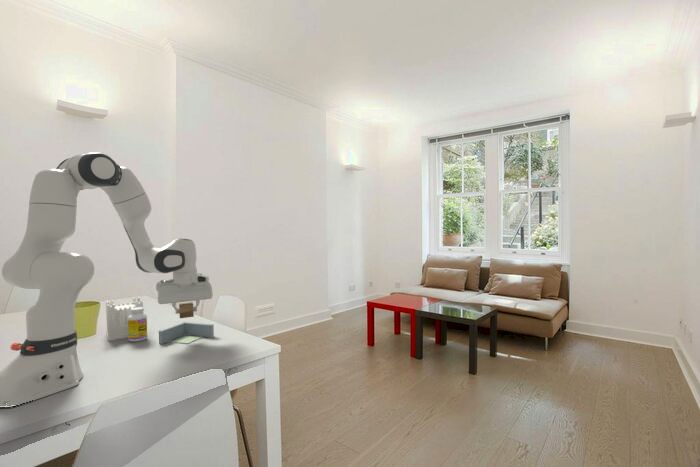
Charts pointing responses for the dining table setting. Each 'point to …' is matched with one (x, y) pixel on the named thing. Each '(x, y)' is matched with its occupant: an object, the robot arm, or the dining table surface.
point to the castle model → (119, 318)
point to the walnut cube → (186, 310)
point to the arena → (186, 332)
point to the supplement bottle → (137, 325)
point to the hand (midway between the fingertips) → (186, 312)
